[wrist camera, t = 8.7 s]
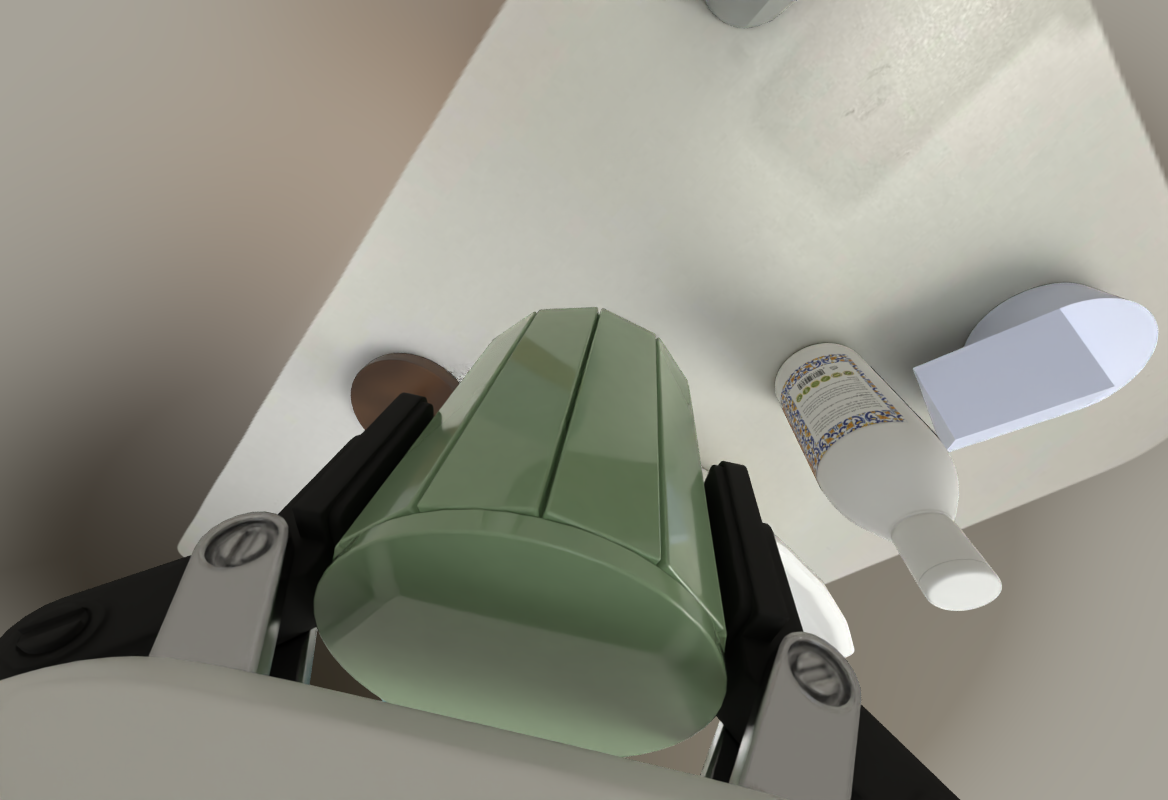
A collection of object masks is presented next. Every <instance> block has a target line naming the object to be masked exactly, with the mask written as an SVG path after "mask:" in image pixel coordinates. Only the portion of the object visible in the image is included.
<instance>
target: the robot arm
mask: <svg viewBox="0 0 1168 800" xmlns="http://www.w3.org/2000/svg"><path fill="white" fill-rule="evenodd" d="M433 418H434V409H433V405H432V404H430V403H428V401H427V398H426V397H424V396H419V395H415V394H410V393H405V392H403V393H401V394H400V395H399V396H398V397H397V398H396V399H395V400H394V401H393V402H392V403H391V404H390V405H389V406H388V407H387V408H386V409H385V410H384V411H383V412H382V413H381V414H380V415H379V416H378V417H377V418H376V419H375V421H374V422H373V423H372V424H371V425H370V426H369V427H368V428H367V429H366V430H365V431H364V432H363V433H362V434H361V435H358V436H355V437H354V438H352V439H351V440H350V441H349V442H348V443H347V444H346V445H345V446H344V447H343V448H342V449H341V450H340V451H339V452H338V453H337V454H336V455H335V456H334V457H333V458H332V459H331V460H330V461H329V462H328V464H327V465H326V466H325V467H324V468H323V469H322V470H321V471H320V472H319V473H318V474H317V475H316V476H315V477H314V478H313V479H312V480H311V481H310V482H309V483H308V484H307V485H306V486H305V487H304V488H303V489H302V490H301V491H300V492H299V493H298V494H297V495H296V496H295V497H294V498H293V499H292V500H291V501H290V502H289V503H288V504H287V505H286V506H285V508H284V509H283V510H282V511H281V512H280V513H279V514H278V515H277V514H274V513H270V512H250V513H246V514H241V515H237V516H235V517H233V518H230V519H228V520H225V521H223V522H222V523H220V524H218V525H217V526H215V527H213V528H212V529H211V530H209V531H208V532H207V533H206V534H205V535H204V536H203V537H202V538H201V539H200V541H199V542H198V544H197V545H196V547H195V548H194V550H193V553H192V555H190V556H187V557H184V558H181V559H178V560H175V561H172V562H170V563H166V564H163V565H160V566H157V567H154V568H151V569H148V570H145V571H142V572H139V573H136V574H133V575H130V576H127V577H124V578H121V579H118V580H115V581H112V582H109V583H106V584H103V585H100V586H97V587H94V588H92V589H88V590H85V591H82V592H79V593H76V594H73V595H70V596H67V597H64V598H61V599H59V600H57V601H54V602H52V603H49V604H47V605H44V606H43V607H41V608H39V609H37V610H36V611H34V612H32V613H31V614H29V615H27V616H25V617H24V618H23V619H21V620H20V621H19V622H17V623H16V624H15V625H14V626H12V627H11V628H10V629H8V630H7V631H6V632H5V633H4V635H3V636H2V637H1V638H0V800H960V799H959V798H958V797H957V796H956V795H955V794H953V792H951V791H950V790H949V789H948V788H947V787H946V786H945V785H944V784H943V783H942V782H941V781H940V780H939V779H938V778H937V777H936V776H935V775H934V774H933V773H932V772H931V771H930V770H929V769H928V768H927V767H925V765H923V764H922V763H921V762H920V761H919V760H918V759H917V758H916V757H915V756H914V755H913V754H912V753H911V752H910V751H909V750H908V749H907V748H906V747H905V746H904V745H903V744H902V743H901V742H899V740H898V739H897V738H896V737H894V736H893V735H892V734H891V733H890V732H889V731H888V730H887V729H886V728H885V727H884V726H883V725H882V724H881V723H880V722H879V721H878V720H877V719H876V718H875V717H874V716H873V715H871V713H870V712H868V711H867V710H866V709H865V708H864V707H863V706H862V705H861V689H860V685H859V682H858V680H857V677H856V674H855V672H854V671H853V669H852V667H851V666H850V664H849V663H848V661H847V660H846V659H845V658H844V657H843V655H842V654H841V653H840V652H839V651H838V650H837V649H836V648H835V647H833V646H832V645H831V644H829V643H828V642H827V641H826V640H824V639H822V638H820V637H818V636H816V635H814V634H811V633H807V632H804V631H803V628H802V625H801V622H800V618H799V615H798V612H797V609H796V605H795V602H794V599H793V596H792V592H791V589H790V586H789V582H788V579H787V576H786V573H785V569H784V566H783V563H782V560H781V556H780V553H779V550H778V546H777V543H776V540H775V537H774V533H773V531H772V529H771V527H770V526H769V525H768V524H766V523H762V520H761V516H760V513H759V509H758V506H757V502H756V499H755V495H754V492H753V488H752V485H751V481H750V478H749V474H748V471H747V468H746V467H745V466H744V465H739V464H735V463H730V462H726V461H721V462H720V464H719V465H718V466H717V465H712V466H711V468H710V470H709V473H708V475H707V477H706V479H705V482H704V487H705V494H706V501H707V507H708V514H709V520H710V527H711V533H712V540H713V546H714V553H715V560H716V566H717V573H718V579H719V586H720V592H721V599H722V605H723V612H724V619H725V625H726V632H727V638H726V645H725V652H724V657H725V664H726V671H727V691H726V694H725V698H724V701H723V704H722V707H721V708H720V710H719V711H718V713H717V715H716V716H717V717H718V719H719V720H720V722H719V725H718V727H717V730H716V733H715V736H714V739H713V741H712V744H711V747H710V749H709V752H708V755H707V758H706V760H705V763H704V766H703V769H702V771H701V774H700V776H698V775H694V774H690V773H686V772H681V771H677V770H673V769H669V768H665V767H661V766H656V765H652V764H648V763H644V762H640V761H635V760H631V759H627V758H623V757H619V756H614V755H610V754H606V753H602V752H598V751H593V750H589V749H585V748H581V747H577V746H572V745H568V744H564V743H560V742H555V741H551V740H547V739H542V738H538V737H534V736H530V735H525V734H521V733H517V732H512V731H508V730H504V729H500V728H495V727H491V726H487V725H482V724H478V723H474V722H469V721H465V720H461V719H456V718H452V717H448V716H443V715H439V714H435V713H431V712H426V711H422V710H418V709H413V708H409V707H404V706H400V705H396V704H391V703H387V702H382V701H378V700H373V699H369V698H364V697H360V696H356V695H352V694H347V693H343V692H338V691H334V690H330V689H325V688H321V687H316V686H312V685H309V683H310V676H311V670H312V662H313V655H314V648H315V640H316V633H317V627H316V622H315V618H314V614H313V598H314V594H315V591H316V588H317V584H318V582H319V580H320V578H321V577H322V575H323V573H324V572H325V570H326V569H327V567H328V566H329V565H330V563H331V562H332V560H333V555H334V549H335V546H336V545H337V544H338V542H339V541H340V540H341V538H342V537H343V536H344V534H345V533H346V532H347V530H348V529H349V528H350V527H351V525H352V524H353V523H354V521H355V520H356V519H357V517H358V516H359V515H360V513H361V512H362V511H363V509H364V508H365V507H366V506H367V504H368V503H369V502H370V500H371V499H372V498H373V496H374V495H375V494H376V492H377V491H378V490H379V489H380V487H381V486H382V485H383V483H384V482H385V481H386V479H387V478H388V477H389V475H390V474H391V473H392V471H393V470H394V469H395V468H396V466H397V465H398V464H399V462H400V461H401V460H402V458H403V457H404V456H405V454H406V453H407V452H408V451H409V449H410V448H411V447H412V445H413V444H414V443H415V441H416V440H417V439H418V437H419V436H420V435H421V433H422V432H423V431H424V430H425V428H426V427H427V426H428V424H429V423H430V422H431V420H432V419H433Z"/></svg>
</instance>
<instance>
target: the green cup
mask: <svg viewBox="0 0 1168 800" xmlns="http://www.w3.org/2000/svg"><path fill="white" fill-rule="evenodd" d="M313 614H314V618H315V622H316V627H317V629H318V631H319V633H320V636H321V638H322V640H323V641H324V643H325V645H326V646H327V648H328V649H329V651H330V652H331V654H332V655H333V656H334V658H335V659H336V660H337V661H338V662H339V663H340V664H341V666H342V667H343V668H344V669H345V670H346V671H347V672H348V673H349V674H350V675H352V676H353V677H354V678H355V679H356V680H357V681H358V682H360V683H361V684H362V685H363V686H365V687H366V688H367V689H368V690H370V691H371V692H372V693H374V694H376V695H377V696H378V697H380V698H381V699H383V700H384V701H386V702H387V703H391V704H396V705H400V706H404V707H409V708H413V709H418V710H422V711H426V712H431V713H435V714H439V715H443V716H448V717H452V718H456V719H461V720H465V721H469V722H474V723H478V724H482V725H487V726H491V727H495V728H500V729H504V730H508V731H512V732H517V733H521V734H525V735H530V736H534V737H538V738H542V739H547V740H551V741H555V742H560V743H564V744H568V745H572V746H577V747H581V748H585V749H589V750H593V751H598V752H602V753H606V754H610V755H614V756H619V757H628V756H634V755H641V754H646V753H650V752H654V751H658V750H662V749H664V748H667V747H670V746H673V745H676V744H678V743H680V742H682V741H684V740H686V739H688V738H691V737H692V736H694V735H695V734H697V733H698V732H699V731H701V730H702V729H704V728H705V727H706V726H707V725H708V724H709V723H710V722H711V721H712V720H713V719H714V718H715V716H716V715H717V713H718V711H719V710H720V708H721V707H722V704H723V701H724V698H725V694H726V691H727V671H726V664H725V657H724V652H725V645H726V638H727V632H726V625H725V619H724V612H723V605H722V599H721V592H720V586H719V579H718V573H717V566H716V560H715V553H714V546H713V540H712V533H711V527H710V520H709V514H708V507H707V501H706V494H705V487H704V481H703V474H702V468H701V461H700V455H699V448H698V442H697V435H696V428H695V422H694V415H693V409H692V402H691V396H690V389H689V385H688V381H687V379H686V377H685V376H684V374H683V373H682V371H681V370H680V368H679V367H678V365H677V364H676V362H675V361H674V359H673V357H672V356H671V354H670V353H669V351H668V350H667V348H666V347H665V345H664V344H663V342H662V341H661V339H660V338H656V336H655V334H654V333H652V332H650V331H648V330H646V329H644V328H642V327H640V326H638V325H636V324H634V323H632V322H630V321H628V320H626V319H624V318H622V317H620V316H618V315H616V314H614V313H612V312H610V311H608V310H606V309H603V308H602V309H601V311H600V313H599V312H598V307H586V308H565V309H544V310H539V312H538V313H536V312H533V313H531V314H530V315H528V316H527V317H525V318H524V319H523V320H521V321H520V322H518V323H517V324H515V325H514V326H512V327H511V328H509V329H508V330H506V331H505V332H503V333H502V334H501V335H499V336H498V337H496V338H495V339H493V341H492V342H491V343H490V344H489V346H488V347H487V348H486V350H485V351H484V352H483V354H482V355H481V356H480V357H479V359H478V360H477V361H476V363H475V364H474V365H473V367H472V368H471V369H470V371H469V372H468V373H467V375H466V376H465V377H464V378H463V380H462V381H461V382H460V384H459V385H458V386H457V388H456V389H455V390H454V392H453V393H452V394H451V395H450V397H449V398H448V399H447V401H446V402H445V403H444V405H443V406H442V407H441V409H440V410H439V411H438V413H437V414H436V415H435V416H434V418H433V419H432V420H431V422H430V423H429V424H428V426H427V427H426V428H425V430H424V431H423V432H422V433H421V435H420V436H419V437H418V439H417V440H416V441H415V443H414V444H413V445H412V447H411V448H410V449H409V451H408V452H407V453H406V454H405V456H404V457H403V458H402V460H401V461H400V462H399V464H398V465H397V466H396V468H395V469H394V470H393V471H392V473H391V474H390V475H389V477H388V478H387V479H386V481H385V482H384V483H383V485H382V486H381V487H380V489H379V490H378V491H377V492H376V494H375V495H374V496H373V498H372V499H371V500H370V502H369V503H368V504H367V506H366V507H365V508H364V509H363V511H362V512H361V513H360V515H359V516H358V517H357V519H356V520H355V521H354V523H353V524H352V525H351V527H350V528H349V529H348V530H347V532H346V533H345V534H344V536H343V537H342V538H341V540H340V541H339V542H338V544H337V545H336V546H335V549H334V555H333V560H332V562H331V563H330V565H329V566H328V567H327V569H326V570H325V572H324V573H323V575H322V577H321V578H320V580H319V582H318V584H317V588H316V591H315V594H314V598H313Z"/></svg>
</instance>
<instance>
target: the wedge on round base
mask: <svg viewBox="0 0 1168 800" xmlns="http://www.w3.org/2000/svg"><path fill="white" fill-rule="evenodd" d="M1157 339H1158V326H1157V323H1156V320H1155V318H1154V316H1153V315H1152V313H1151V312H1150V311H1149V310H1147V309H1146V308H1145V307H1143V306H1142V305H1140V304H1138V303H1135V302H1133V301H1130V300H1127V299H1124V298H1121V297H1118V296H1115V295H1112V294H1109V293H1106V292H1103V291H1100V290H1097V289H1095V288H1092V287H1089V286H1086V285H1082V284H1077V283H1053V284H1048V285H1043V286H1039V287H1035V288H1032V289H1029V290H1027V291H1024V292H1022V293H1019V294H1017V295H1015V296H1013V297H1011V298H1009V299H1008V300H1006V301H1004V302H1003V303H1001V304H1000V305H998V306H997V307H996V308H994V309H993V310H992V311H990V312H989V313H988V314H987V315H986V316H985V317H984V318H983V319H982V320H981V321H980V322H979V323H978V324H977V325H976V327H975V328H974V329H973V330H972V332H971V333H970V335H969V337H968V338H967V341H966V343H965V345H964V348H961V349H959V350H956V351H954V352H951V353H949V354H946V355H944V356H941V357H939V358H937V359H934V360H932V361H929V362H927V363H924V364H922V365H919V366H917V367H914V368H913V371H914V373H915V376H916V379H917V382H918V384H919V387H920V390H921V393H922V395H923V398H924V401H925V404H926V406H927V409H928V412H929V415H930V417H931V420H932V423H933V425H934V428H935V431H936V434H937V436H938V437H939V439H940V440H941V442H942V443H943V445H944V446H945V448H946V449H947V451H948V452H951V451H954V450H957V449H960V448H963V447H966V446H970V445H973V444H976V443H979V442H982V441H985V440H988V439H991V438H994V437H997V436H1000V435H1003V434H1006V433H1009V432H1012V431H1015V430H1019V429H1022V428H1025V427H1028V426H1031V425H1034V424H1037V423H1040V422H1043V421H1046V420H1049V419H1052V418H1055V417H1058V416H1061V415H1064V414H1068V413H1071V412H1074V411H1077V410H1080V409H1082V408H1085V407H1088V406H1090V405H1092V404H1095V403H1097V402H1099V401H1101V400H1103V399H1105V398H1107V397H1108V396H1110V395H1112V394H1113V393H1115V392H1116V391H1118V390H1119V389H1121V388H1122V387H1123V386H1125V385H1126V384H1127V383H1129V382H1130V381H1131V380H1132V379H1133V378H1134V377H1135V376H1136V375H1137V374H1138V373H1139V372H1140V371H1141V370H1142V369H1143V367H1144V366H1145V365H1146V363H1147V362H1148V361H1149V359H1150V357H1151V356H1152V354H1153V352H1154V350H1155V347H1156V344H1157Z"/></svg>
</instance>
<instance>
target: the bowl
mask: <svg viewBox="0 0 1168 800" xmlns="http://www.w3.org/2000/svg"><path fill="white" fill-rule="evenodd" d="M701 468H702V467H701ZM708 473H709V472H708V471H706V470H705V469H704V468H702V474H703V481H704V482H705V479H706V477H707V475H708ZM774 537H775V540H776V543H777V546H778V550H779V553H780V556H781V560H782V563H783V566H784V569H785V573H786V576H787V579H788V582H789V586H790V589H791V592H792V596H793V599H794V602H795V605H796V609H797V612H798V615H799V618H800V622H801V625H802V628H803V631H804V632H807V633H811V634H814V635H816V636H818V637H820V638H822V639H824V640H826V641H827V642H828V643H829V644H831V645H832V646H833V647H835V648H836V649H837V650H838V651H839V652H840V653H841V654H842V655H843V657H844V658H845V657H847V656H850V655H851V654H852V653H853V652H854V647H853V643H852V639H851V635H850V631H849V628H848V624H847V622H846V620H845V618H844V616H843V614H842V613H841V611H840V610H839V608H838V606H837V604H836V603H835V601H834V600H833V598H832V596H831V594H830V593H829V592H828V589H827V588H826V586H825V585H824V583H823V581H822V580H821V579H820V578H819V577H818V576H817V575H816V574H815V573H814V572H813V571H812V570H811V569H810V568H809V567H808V566H807V565H806V564H805V563H804V562H803V561H802V560H801V559H800V558H799V557H798V556H797V555H796V554H795V553H794V552H793V551H792V550H791V549H790V548H789V547H788V546H787V545H786V544H785V543H784V542H783V541H782V540H781V539H779V538H778V537H777V536H776V535H775V534H774Z"/></svg>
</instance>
